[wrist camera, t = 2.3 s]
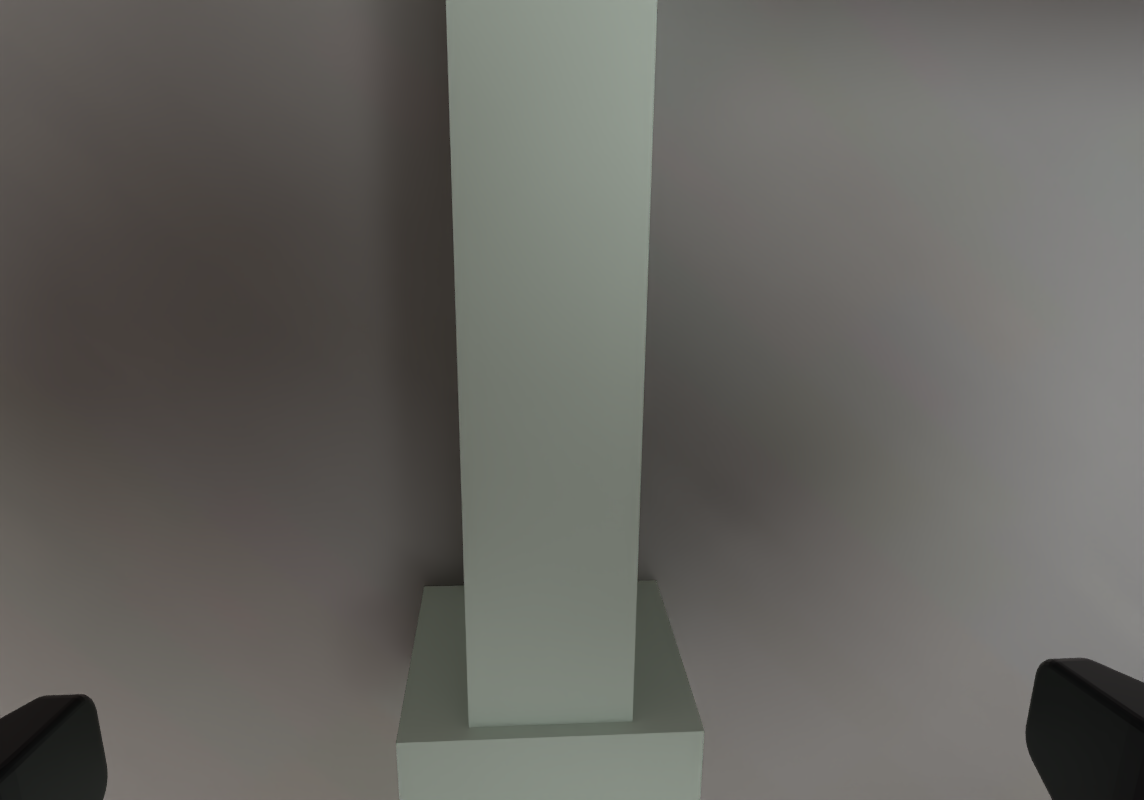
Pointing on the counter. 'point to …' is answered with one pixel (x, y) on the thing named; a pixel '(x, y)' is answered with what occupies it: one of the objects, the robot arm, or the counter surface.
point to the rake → (549, 427)
